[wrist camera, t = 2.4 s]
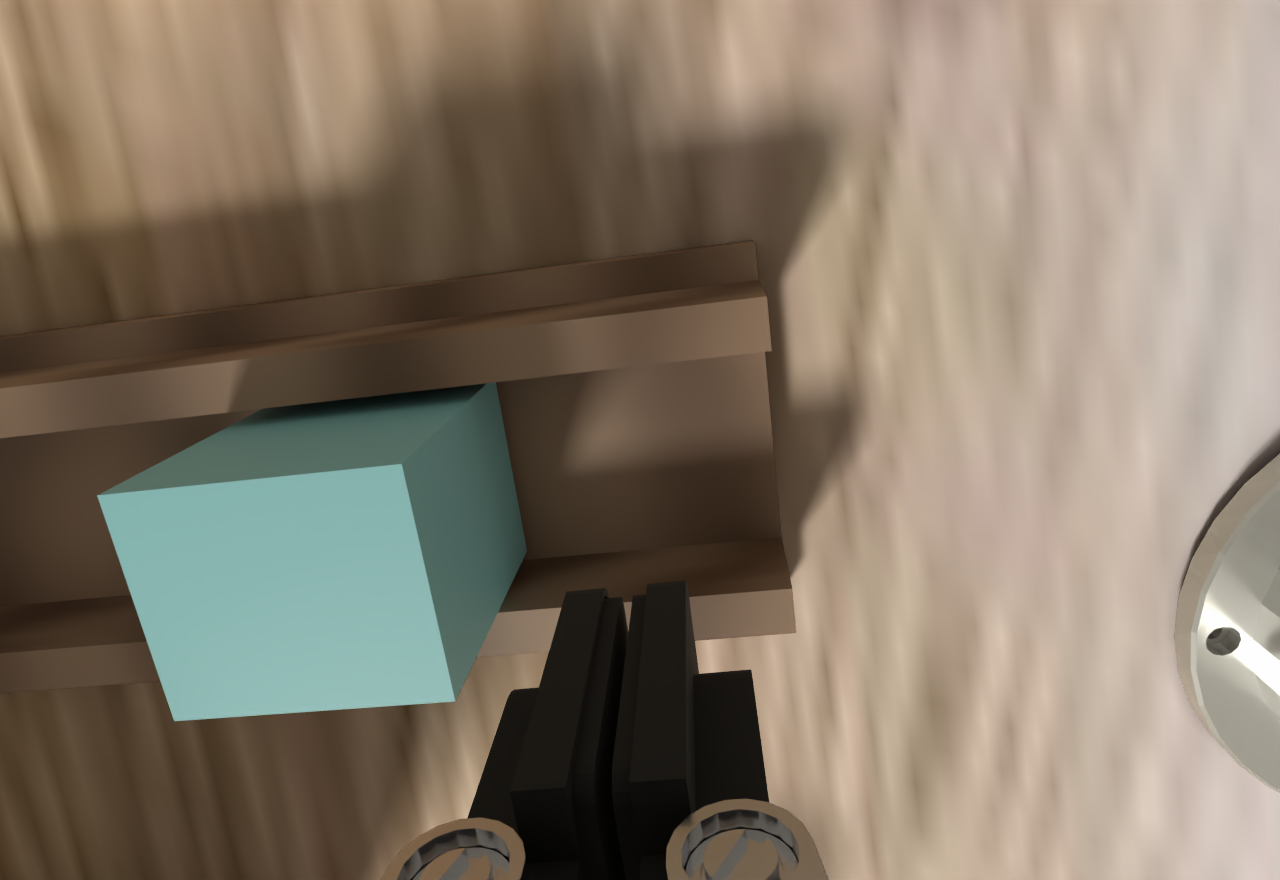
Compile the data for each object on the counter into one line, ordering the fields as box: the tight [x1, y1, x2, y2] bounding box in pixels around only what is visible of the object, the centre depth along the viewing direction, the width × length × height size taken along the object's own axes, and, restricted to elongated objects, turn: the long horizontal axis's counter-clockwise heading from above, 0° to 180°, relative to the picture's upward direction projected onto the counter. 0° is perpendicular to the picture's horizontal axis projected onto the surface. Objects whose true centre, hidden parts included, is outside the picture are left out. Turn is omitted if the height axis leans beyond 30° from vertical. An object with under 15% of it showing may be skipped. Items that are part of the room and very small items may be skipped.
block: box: [97, 382, 527, 721], centre depth 19 cm, size 6×5×7 cm
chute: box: [0, 240, 796, 693], centre depth 22 cm, size 30×10×4 cm, turn 98°
